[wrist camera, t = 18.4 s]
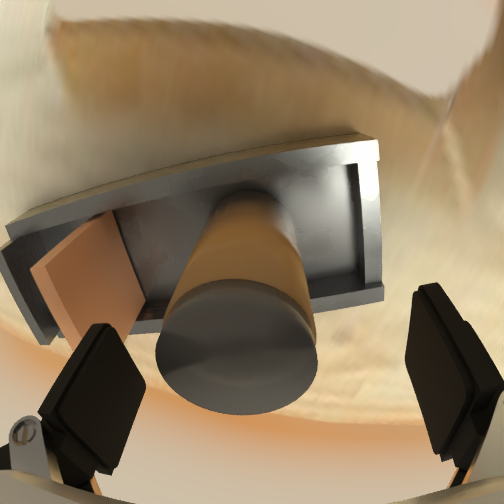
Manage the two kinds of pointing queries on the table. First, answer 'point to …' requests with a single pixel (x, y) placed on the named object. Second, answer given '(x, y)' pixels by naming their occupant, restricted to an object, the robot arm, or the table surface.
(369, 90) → the table surface
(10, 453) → the robot arm
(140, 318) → the tray
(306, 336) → the jar
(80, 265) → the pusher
